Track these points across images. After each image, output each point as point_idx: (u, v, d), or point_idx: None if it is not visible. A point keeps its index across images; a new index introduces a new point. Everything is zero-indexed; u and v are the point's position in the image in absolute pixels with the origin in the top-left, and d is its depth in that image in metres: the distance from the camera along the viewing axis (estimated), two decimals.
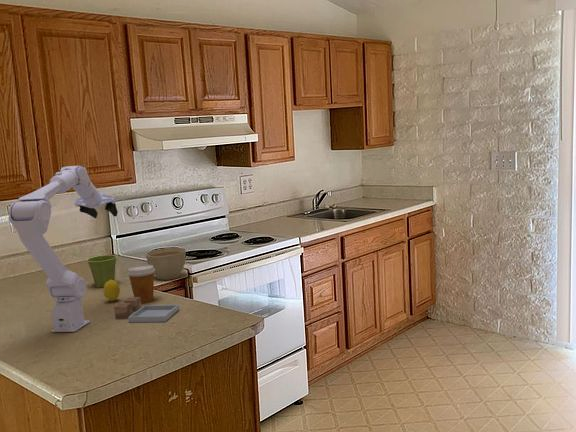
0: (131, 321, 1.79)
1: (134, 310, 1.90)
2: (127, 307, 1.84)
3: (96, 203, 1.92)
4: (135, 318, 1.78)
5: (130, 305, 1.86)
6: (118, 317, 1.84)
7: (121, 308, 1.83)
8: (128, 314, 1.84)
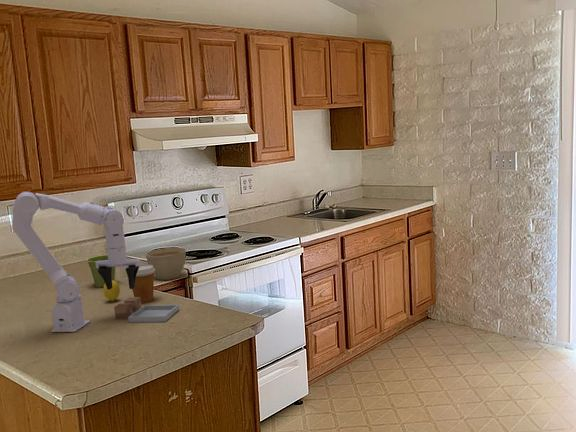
0: (131, 321, 1.79)
1: (134, 310, 1.90)
2: (127, 307, 1.84)
3: (119, 260, 1.80)
4: (135, 318, 1.78)
5: (130, 305, 1.86)
6: (118, 317, 1.84)
7: (121, 308, 1.83)
8: (128, 314, 1.84)
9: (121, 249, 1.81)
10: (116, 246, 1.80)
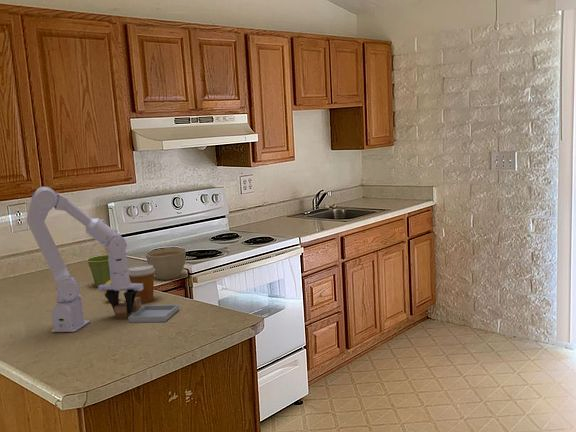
0: (131, 321, 1.79)
1: (134, 310, 1.90)
2: None
3: (122, 284, 1.82)
4: (135, 318, 1.78)
5: None
6: (118, 317, 1.84)
7: (121, 308, 1.83)
8: (128, 314, 1.84)
9: (124, 274, 1.82)
10: (119, 271, 1.81)
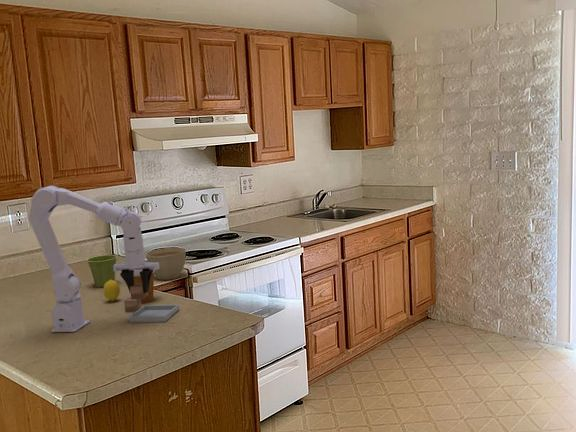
0: (131, 321, 1.79)
1: (134, 310, 1.90)
2: None
3: (138, 263, 1.77)
4: (135, 318, 1.78)
5: None
6: (134, 297, 1.79)
7: (137, 288, 1.79)
8: (144, 294, 1.80)
9: (139, 252, 1.77)
10: (132, 250, 1.76)
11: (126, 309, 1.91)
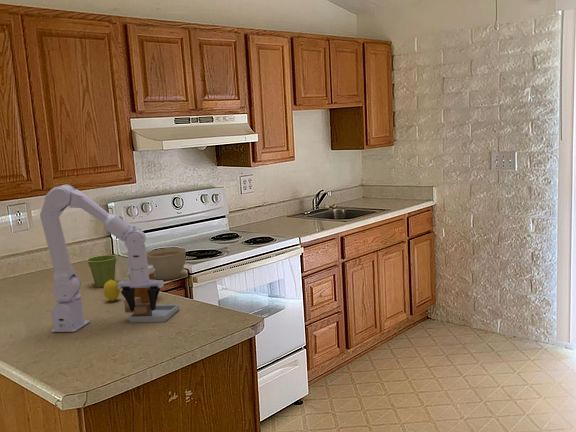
0: (131, 321, 1.79)
1: None
2: (147, 307, 1.80)
3: (142, 281, 1.77)
4: (135, 318, 1.78)
5: None
6: None
7: (141, 308, 1.79)
8: (148, 314, 1.80)
9: (144, 270, 1.78)
10: (136, 268, 1.76)
11: (126, 309, 1.91)
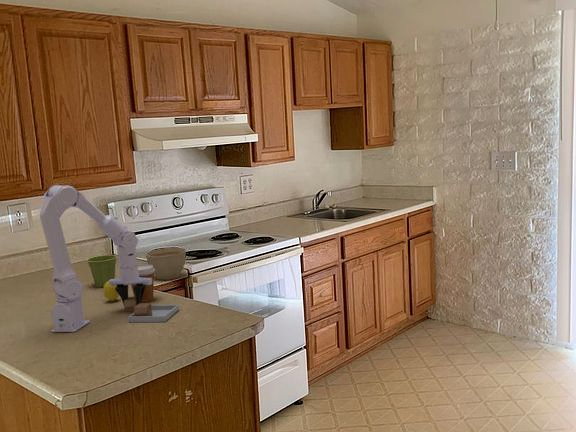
0: (131, 321, 1.79)
1: None
2: (147, 307, 1.80)
3: (132, 279, 1.88)
4: (135, 318, 1.78)
5: (150, 305, 1.82)
6: None
7: (141, 308, 1.79)
8: (148, 314, 1.80)
9: (133, 268, 1.89)
10: (131, 265, 1.88)
11: (126, 309, 1.91)
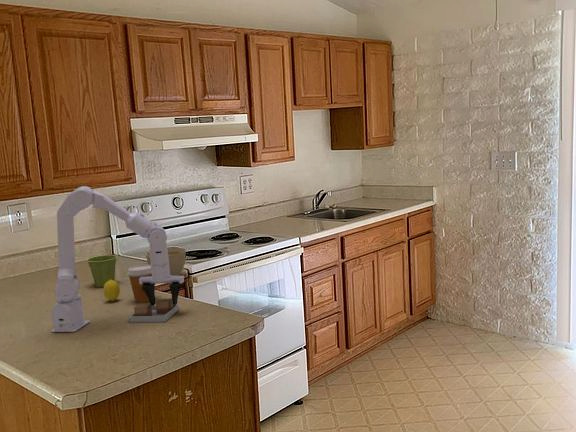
0: (131, 321, 1.79)
1: (166, 312, 1.83)
2: (147, 307, 1.80)
3: (163, 277, 1.81)
4: (135, 318, 1.78)
5: (150, 305, 1.82)
6: None
7: (141, 308, 1.79)
8: (148, 314, 1.80)
9: (165, 266, 1.82)
10: (159, 263, 1.80)
11: (158, 311, 1.84)
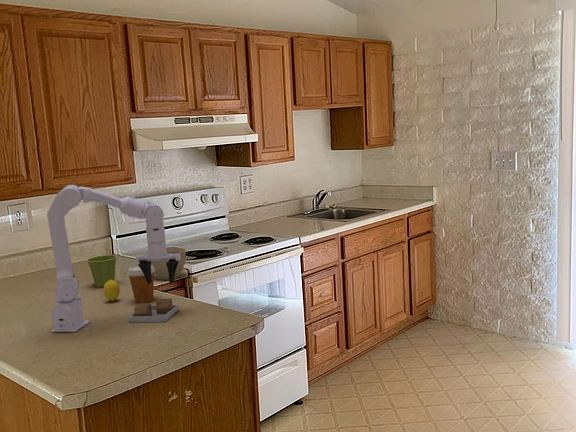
0: (131, 321, 1.79)
1: (166, 312, 1.83)
2: (147, 307, 1.80)
3: (160, 254, 1.82)
4: (135, 318, 1.78)
5: (150, 305, 1.82)
6: None
7: (141, 308, 1.79)
8: (148, 314, 1.80)
9: (162, 243, 1.82)
10: (156, 241, 1.81)
11: (158, 311, 1.84)
